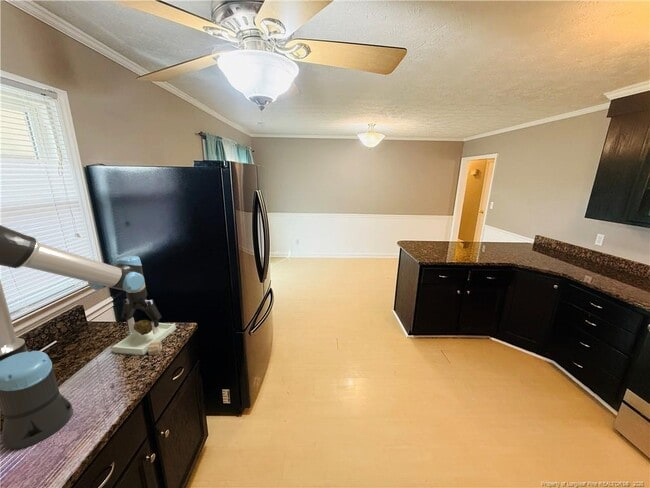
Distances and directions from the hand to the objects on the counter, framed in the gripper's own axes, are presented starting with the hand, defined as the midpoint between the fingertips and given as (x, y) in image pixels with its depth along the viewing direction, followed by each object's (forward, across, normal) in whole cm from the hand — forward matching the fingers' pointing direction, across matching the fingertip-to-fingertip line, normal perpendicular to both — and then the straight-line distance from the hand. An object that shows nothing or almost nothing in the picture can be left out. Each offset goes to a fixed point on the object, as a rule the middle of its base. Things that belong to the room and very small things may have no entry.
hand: (144, 332), depth 125 cm
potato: (+1, 0, 0) cm, 1 cm away
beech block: (+5, -11, +7) cm, 14 cm away
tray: (+5, 0, 0) cm, 5 cm away
